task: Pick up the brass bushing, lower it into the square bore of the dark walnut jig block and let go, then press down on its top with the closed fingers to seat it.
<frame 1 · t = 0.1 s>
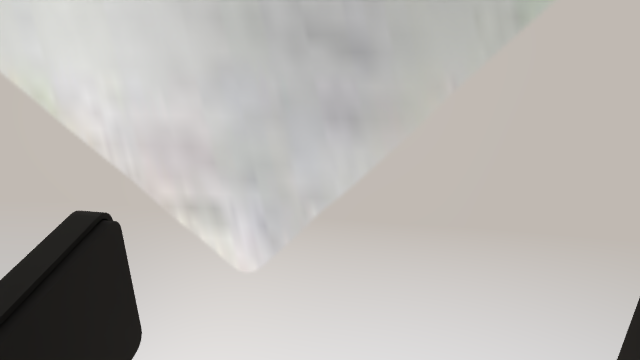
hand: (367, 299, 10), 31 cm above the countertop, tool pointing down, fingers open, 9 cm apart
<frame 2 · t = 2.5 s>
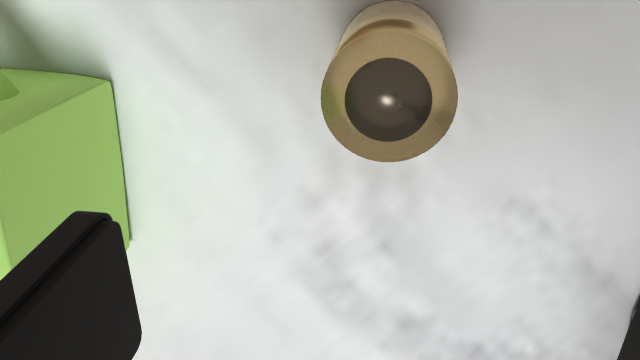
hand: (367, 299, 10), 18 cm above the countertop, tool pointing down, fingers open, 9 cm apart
gearbox: (42, 141, 31), on the countertop
bushing: (391, 54, 26), on the countertop
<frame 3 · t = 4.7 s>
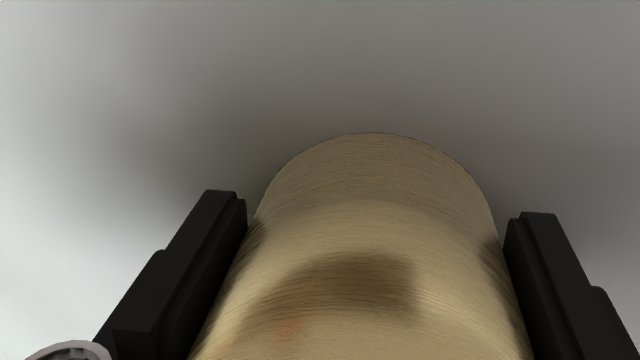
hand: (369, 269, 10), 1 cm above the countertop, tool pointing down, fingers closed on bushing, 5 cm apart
bushing: (372, 242, 11), on the countertop, touching gripper
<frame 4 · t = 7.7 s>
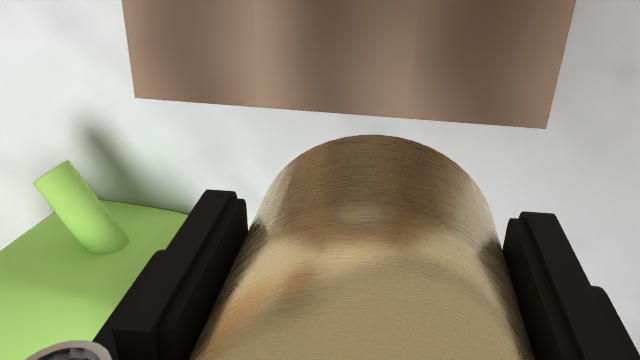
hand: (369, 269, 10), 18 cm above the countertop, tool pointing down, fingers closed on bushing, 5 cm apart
gearbox: (129, 256, 35), on the countertop
bushing: (372, 243, 11), point 17 cm above the countertop, touching gripper
when the fingers open (7 cm above the countertop, at t = 10.6 s): bushing drops 6 cm, resting in jig.
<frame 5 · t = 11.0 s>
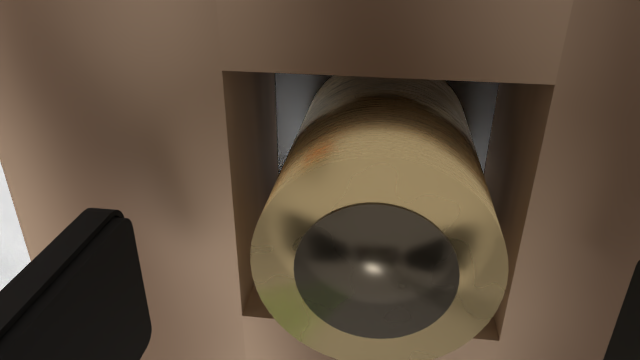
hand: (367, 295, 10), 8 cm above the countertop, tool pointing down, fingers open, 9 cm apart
jig: (380, 134, 16), on the countertop
bushing: (384, 136, 16), resting in jig
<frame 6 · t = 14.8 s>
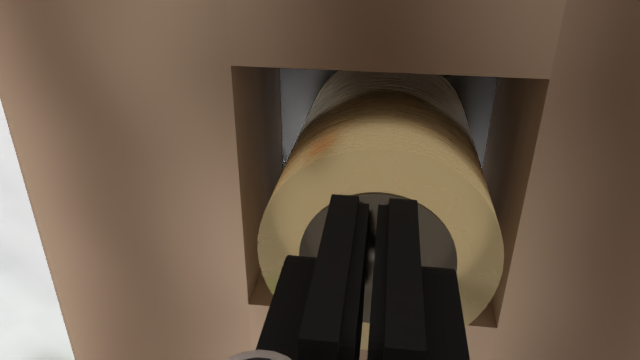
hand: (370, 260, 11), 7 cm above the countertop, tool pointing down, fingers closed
jig: (382, 130, 17), on the countertop
bushing: (385, 131, 17), resting in jig, touching gripper
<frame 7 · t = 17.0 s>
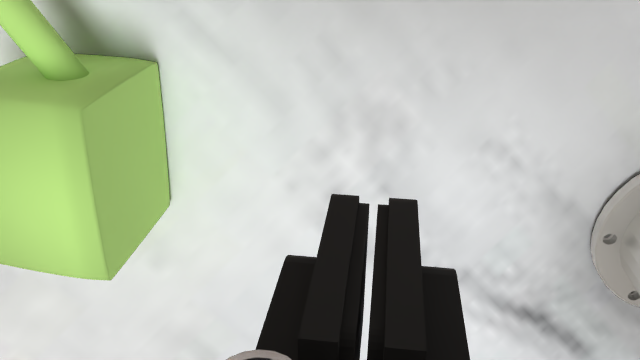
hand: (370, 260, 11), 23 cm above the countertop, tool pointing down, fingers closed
gearbox: (94, 115, 36), on the countertop
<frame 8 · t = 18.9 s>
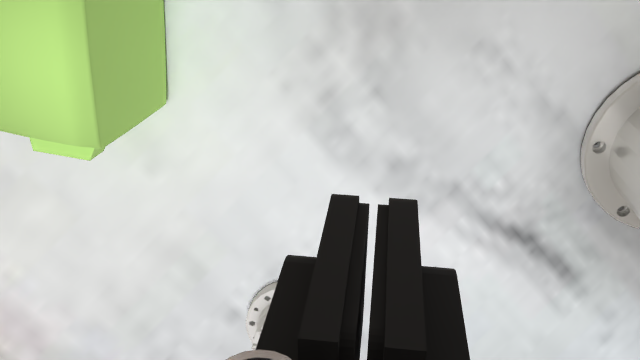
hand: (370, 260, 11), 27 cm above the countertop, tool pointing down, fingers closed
gearbox: (97, 7, 37), on the countertop
mechanical component: (303, 318, 48), on the countertop
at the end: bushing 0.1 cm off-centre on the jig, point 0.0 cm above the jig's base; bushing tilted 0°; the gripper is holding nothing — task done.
